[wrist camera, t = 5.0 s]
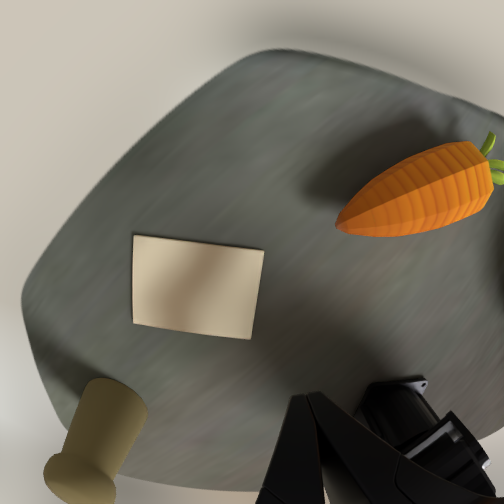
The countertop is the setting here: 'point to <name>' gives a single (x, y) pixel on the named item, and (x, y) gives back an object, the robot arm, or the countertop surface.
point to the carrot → (424, 191)
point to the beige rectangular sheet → (195, 286)
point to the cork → (96, 443)
